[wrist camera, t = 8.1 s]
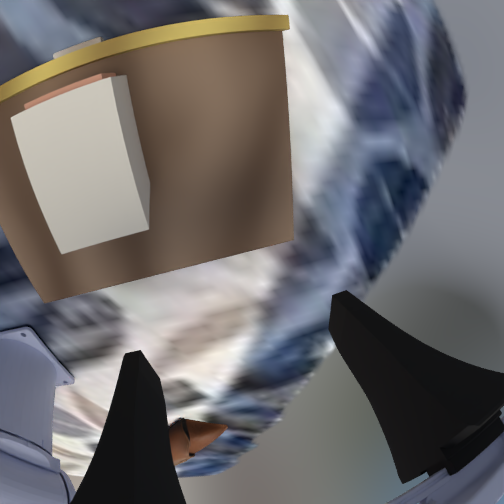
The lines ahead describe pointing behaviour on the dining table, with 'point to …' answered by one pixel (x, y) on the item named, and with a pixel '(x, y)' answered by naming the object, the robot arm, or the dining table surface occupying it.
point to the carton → (86, 161)
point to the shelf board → (169, 151)
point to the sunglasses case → (192, 438)
